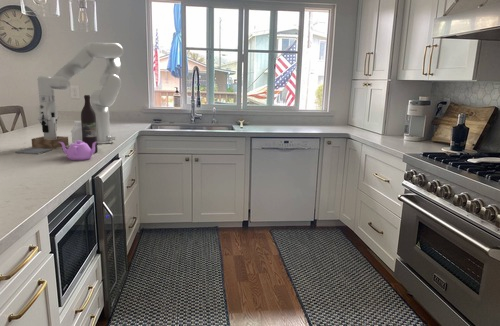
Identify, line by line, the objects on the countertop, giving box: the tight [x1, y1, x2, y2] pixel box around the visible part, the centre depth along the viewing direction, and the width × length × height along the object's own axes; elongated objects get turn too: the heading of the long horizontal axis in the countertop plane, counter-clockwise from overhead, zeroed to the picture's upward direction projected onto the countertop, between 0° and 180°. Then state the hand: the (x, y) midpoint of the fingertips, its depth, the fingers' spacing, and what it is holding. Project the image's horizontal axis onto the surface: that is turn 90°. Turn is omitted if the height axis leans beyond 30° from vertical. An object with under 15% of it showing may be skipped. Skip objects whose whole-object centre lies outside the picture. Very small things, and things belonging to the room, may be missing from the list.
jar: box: [70, 120, 82, 144], centre depth 203 cm, size 12×10×15 cm
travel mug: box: [43, 113, 58, 140], centre depth 203 cm, size 6×7×20 cm
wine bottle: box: [80, 94, 98, 154], centre depth 189 cm, size 7×7×30 cm
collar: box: [31, 135, 69, 150], centre depth 204 cm, size 13×13×5 cm
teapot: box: [59, 140, 98, 161], centre depth 177 cm, size 12×14×9 cm
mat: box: [15, 147, 54, 155], centre depth 190 cm, size 12×12×1 cm
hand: (49, 131), depth 203 cm, fingers closed on travel mug, 6 cm apart
